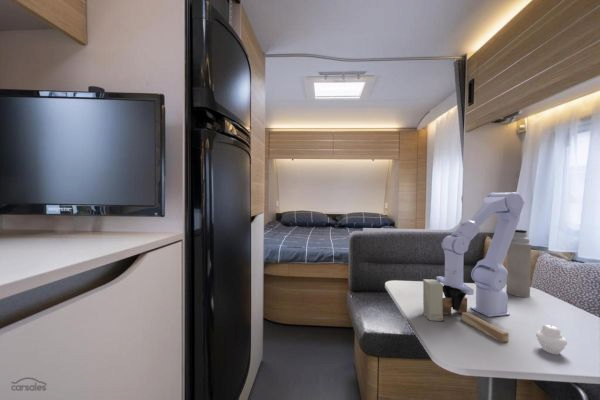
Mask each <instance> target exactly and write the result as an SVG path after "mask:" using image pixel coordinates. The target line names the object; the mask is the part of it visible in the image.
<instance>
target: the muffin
mask: <svg viewBox="0 0 600 400" xmlns="http://www.w3.org/2000/svg"><path fill="white" fill-rule="evenodd" d="M535 336H536V338H537V341H538V343H539V345H540V346H541V349H542V350H543V351H545V352H546V353H548V354H552V355H559V354H561V353H562V351H563V350H564V349H565V348H566V346H567V345H568V341H567V339H566V338H565V337H564V336H563V335H562V333H561V330H560V329H559V328H558V327H556V326H554V325H552V324H551V325H550V324H545V325H542V328H541V329H539V330H537V331H536V332H535Z"/></svg>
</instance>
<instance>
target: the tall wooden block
mask: <svg viewBox="0 0 600 400" xmlns="http://www.w3.org/2000/svg"><path fill="white" fill-rule="evenodd" d="M454 311H455V312H456V313H459V314H462V313H465V312H468V298H467V297H466V296H465V297H464V298H463V300H462V302H461V305H460V308H459V310H454ZM450 314H451V315H452V297H449V298H445V297H443V315H450Z"/></svg>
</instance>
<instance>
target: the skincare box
mask: <svg viewBox="0 0 600 400" xmlns="http://www.w3.org/2000/svg"><path fill="white" fill-rule="evenodd" d="M422 282H423V285H422V286H423V287H422V288H423V289H422V290H423V291H422V292H423V293H422V295H423V296H422V297H423V298H422V299H423V300H422V301H423V302H422V303H423V305H422V306H423V307H422V311H423V314H424V316H425V317H426V318H427V319H428V320H429V321H433V322H434V321H436V322H437V321H438V322H442V321H444V318H443V317H444V314H443V298H444V297H443V296H444V293H443V286H444V284H443V283H441V282H438V281H437V279H431V278H430V279H429V278H428V279H425V278H423V279H422Z"/></svg>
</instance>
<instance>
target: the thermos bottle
mask: <svg viewBox="0 0 600 400" xmlns="http://www.w3.org/2000/svg"><path fill="white" fill-rule="evenodd" d="M527 232H528V231H527V230H525V229H516V230H515V233H514V235H513V238H512V241H511V243H510V246H509V249H508V252H507V254H506V257H507V259H506V270H507V271H508V274H507V283H506V286H505V287H506V289H505V291H506V293H507V294H509V295H512V296H515V297H521V298H529V297H530V296H531V269H532V268H531V267H532V266H531V265H532V243H530V238H529V237H527V235H528V234H527Z"/></svg>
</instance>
